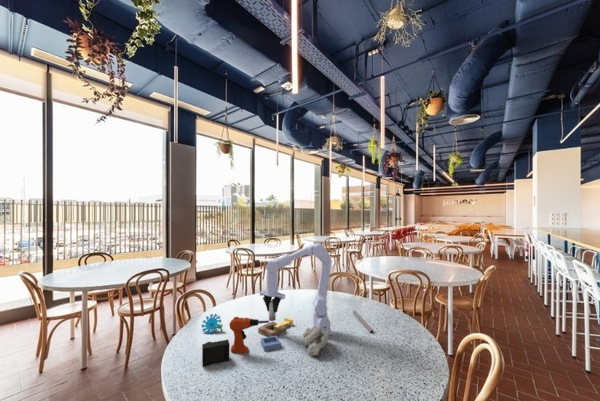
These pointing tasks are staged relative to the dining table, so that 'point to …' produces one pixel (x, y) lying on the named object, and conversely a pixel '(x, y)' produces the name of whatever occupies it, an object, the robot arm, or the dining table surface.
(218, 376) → the dining table surface
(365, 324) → the metal rod
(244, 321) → the toy drill
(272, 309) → the gray metallic cylinder
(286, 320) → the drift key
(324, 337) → the mineral
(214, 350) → the digital camera
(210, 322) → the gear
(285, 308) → the dining table surface
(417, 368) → the dining table surface
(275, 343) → the tray
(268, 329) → the socket
